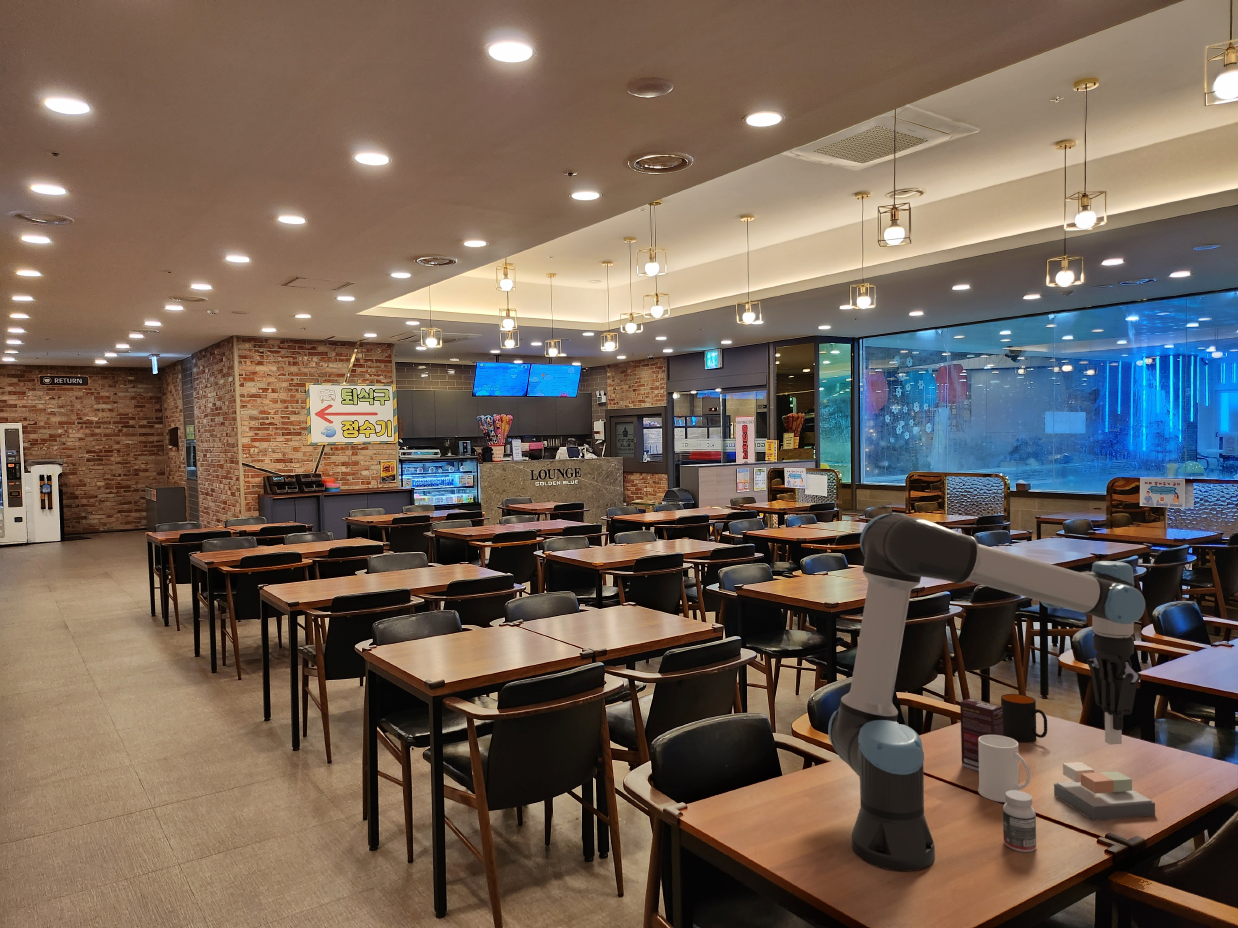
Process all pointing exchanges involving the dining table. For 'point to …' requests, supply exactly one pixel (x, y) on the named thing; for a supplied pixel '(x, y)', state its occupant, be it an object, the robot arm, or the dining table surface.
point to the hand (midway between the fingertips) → (1113, 742)
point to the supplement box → (977, 728)
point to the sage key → (1119, 781)
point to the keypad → (1104, 802)
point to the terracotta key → (1097, 782)
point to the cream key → (1076, 770)
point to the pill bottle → (1019, 821)
